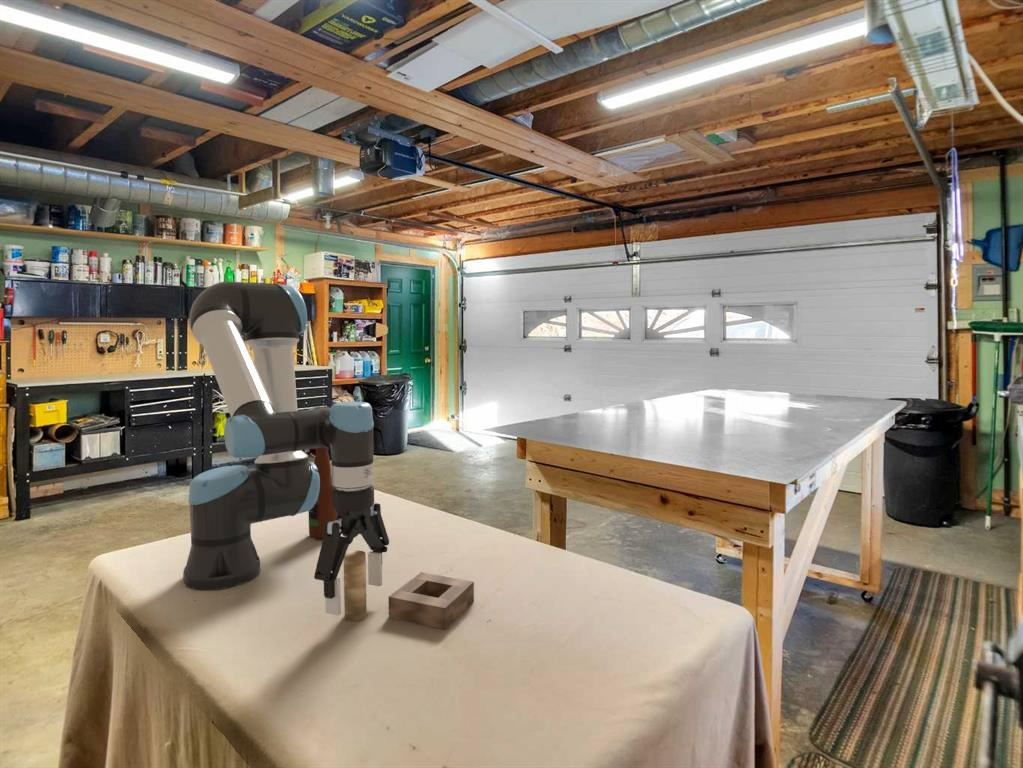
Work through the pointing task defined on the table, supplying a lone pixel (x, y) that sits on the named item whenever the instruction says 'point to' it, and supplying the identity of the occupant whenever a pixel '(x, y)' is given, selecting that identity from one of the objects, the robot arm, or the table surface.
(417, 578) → the walnut socket
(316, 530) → the bottle
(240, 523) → the robot arm
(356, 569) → the oak peg
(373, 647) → the table surface
